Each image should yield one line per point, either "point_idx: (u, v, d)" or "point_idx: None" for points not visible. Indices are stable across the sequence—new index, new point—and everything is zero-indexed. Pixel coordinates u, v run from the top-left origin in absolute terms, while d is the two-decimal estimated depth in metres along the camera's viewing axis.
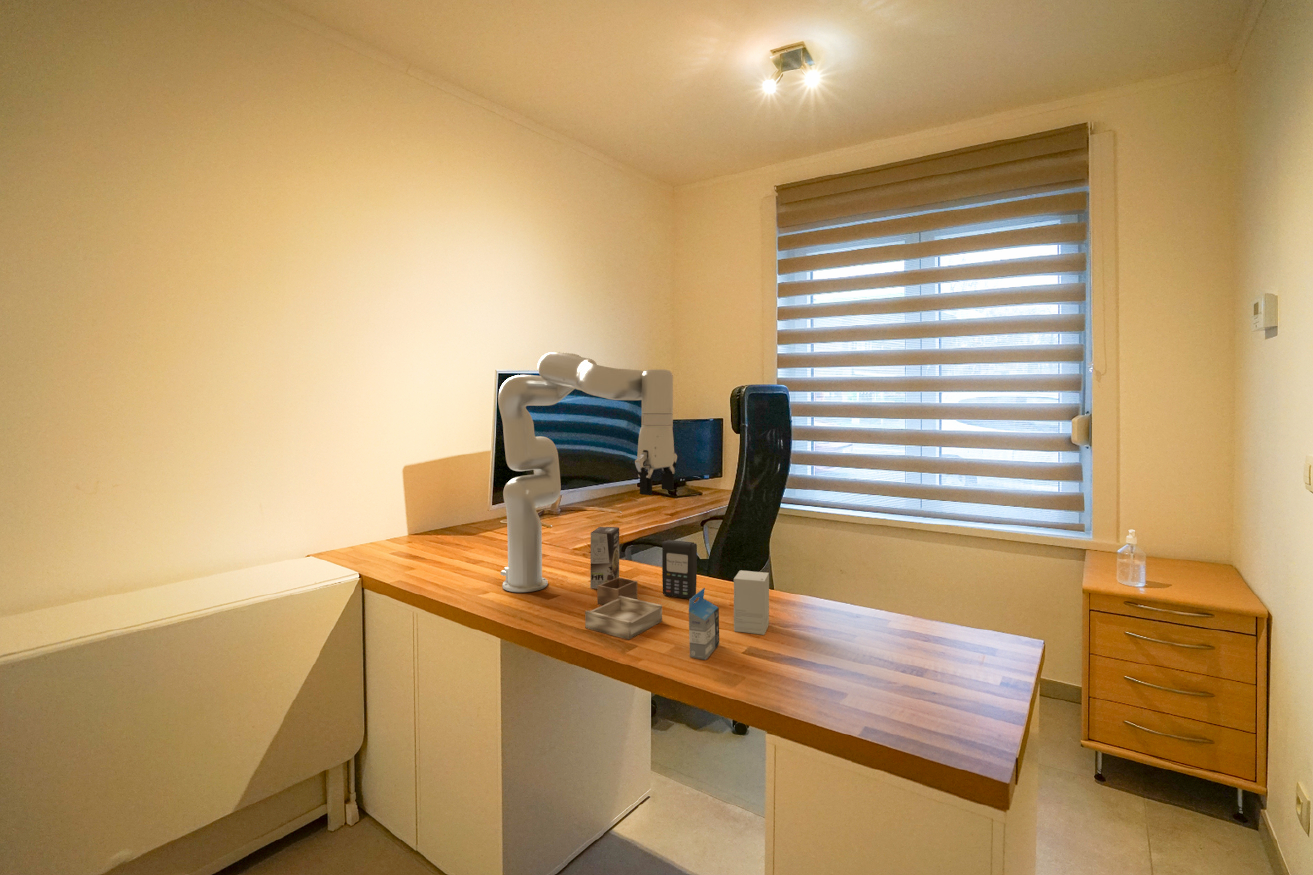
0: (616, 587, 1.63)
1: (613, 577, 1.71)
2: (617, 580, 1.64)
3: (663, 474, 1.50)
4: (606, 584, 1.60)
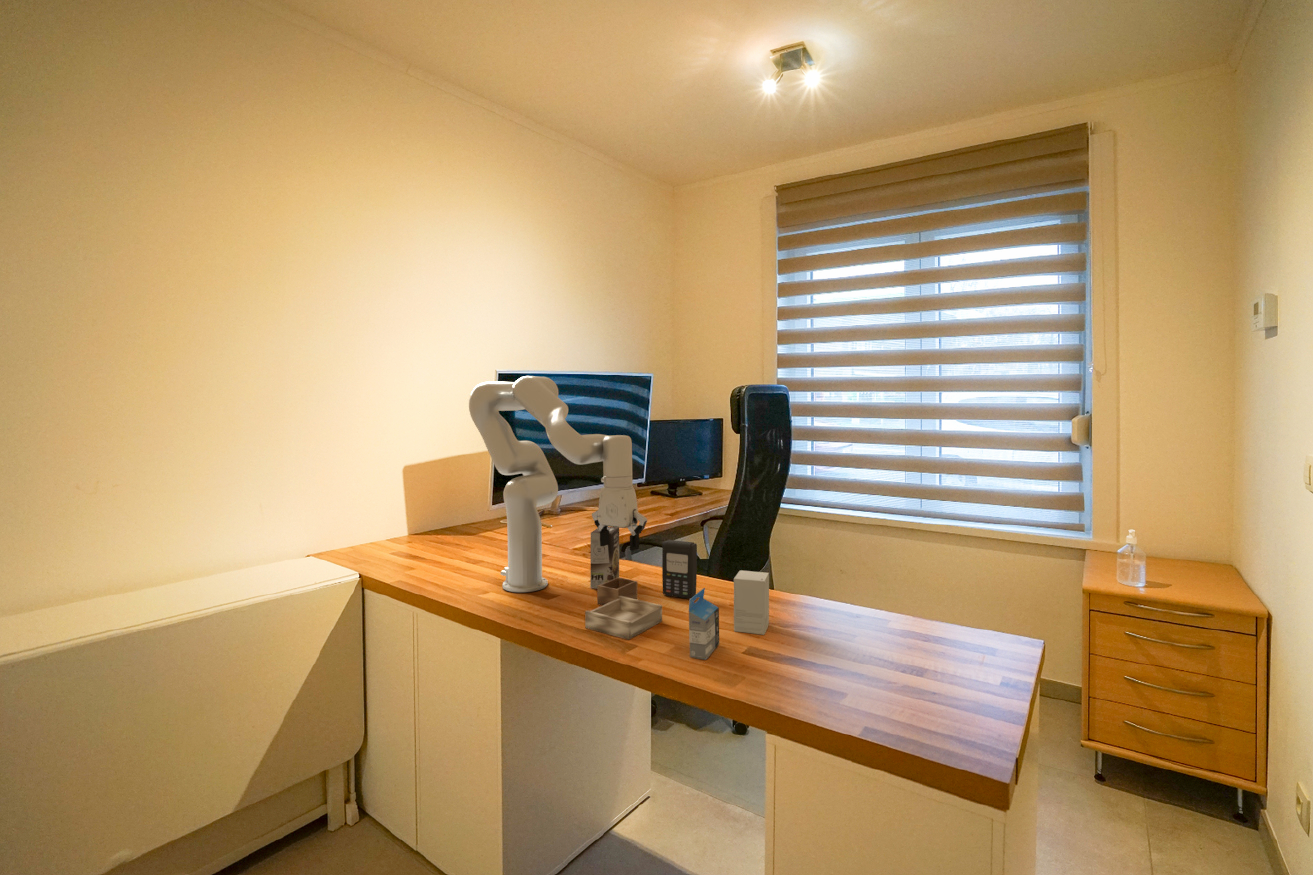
0: (616, 587, 1.63)
1: (613, 577, 1.71)
2: (617, 580, 1.64)
3: (603, 532, 1.60)
4: (606, 584, 1.60)
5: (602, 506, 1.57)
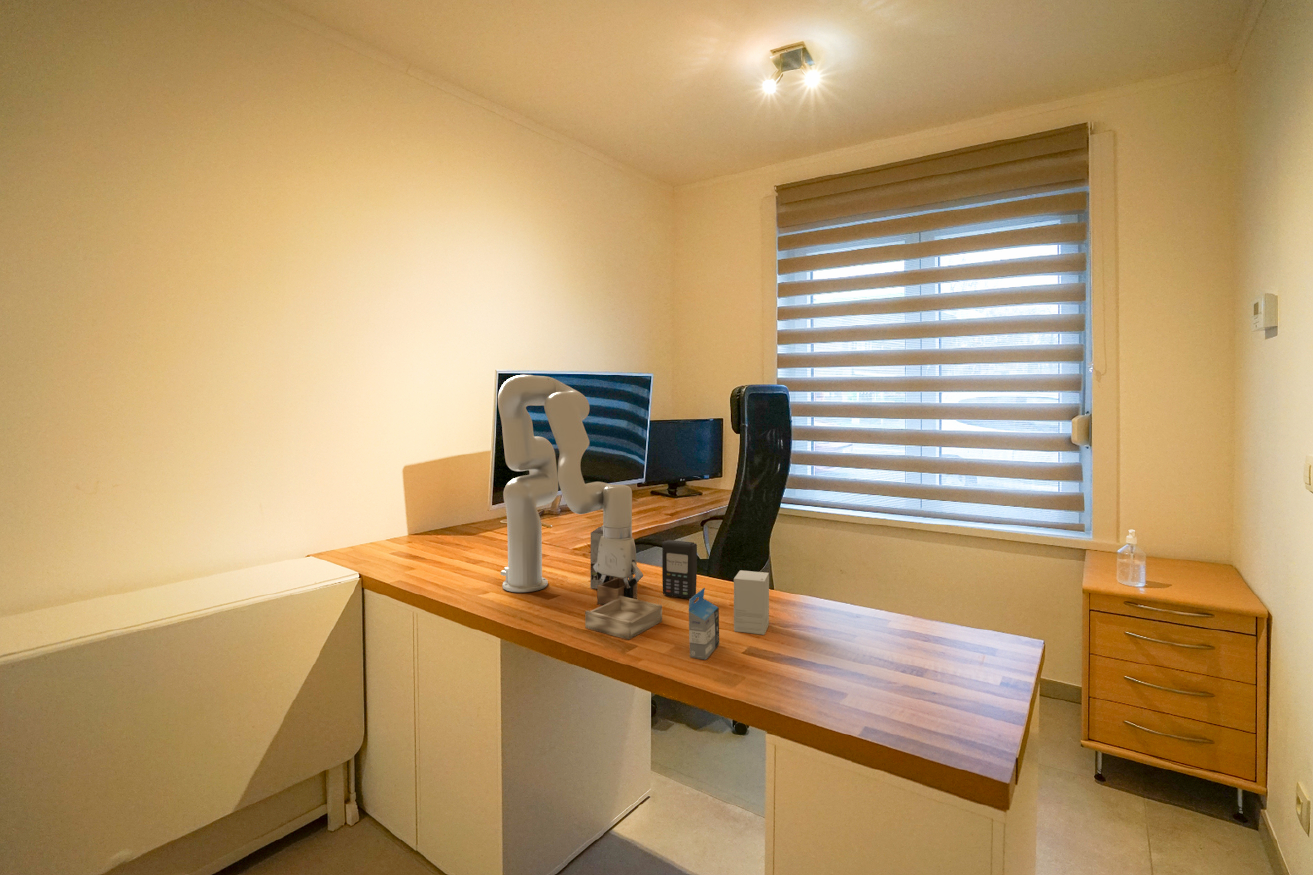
0: (616, 587, 1.63)
1: (613, 577, 1.71)
2: (617, 580, 1.64)
3: None
4: (606, 584, 1.60)
5: (601, 555, 1.58)
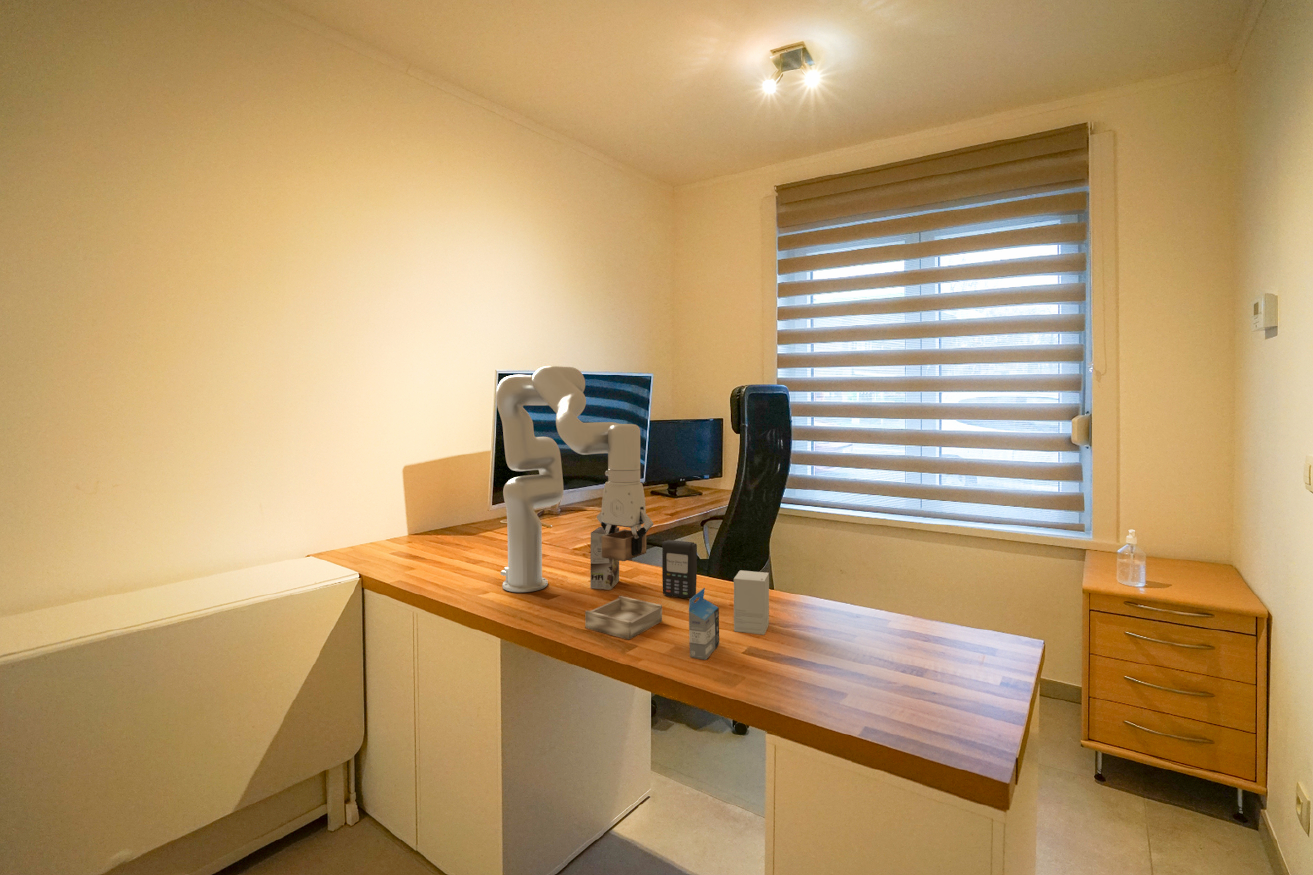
0: None
1: (613, 577, 1.71)
2: (624, 532, 1.47)
3: None
4: (611, 535, 1.43)
5: (606, 502, 1.41)
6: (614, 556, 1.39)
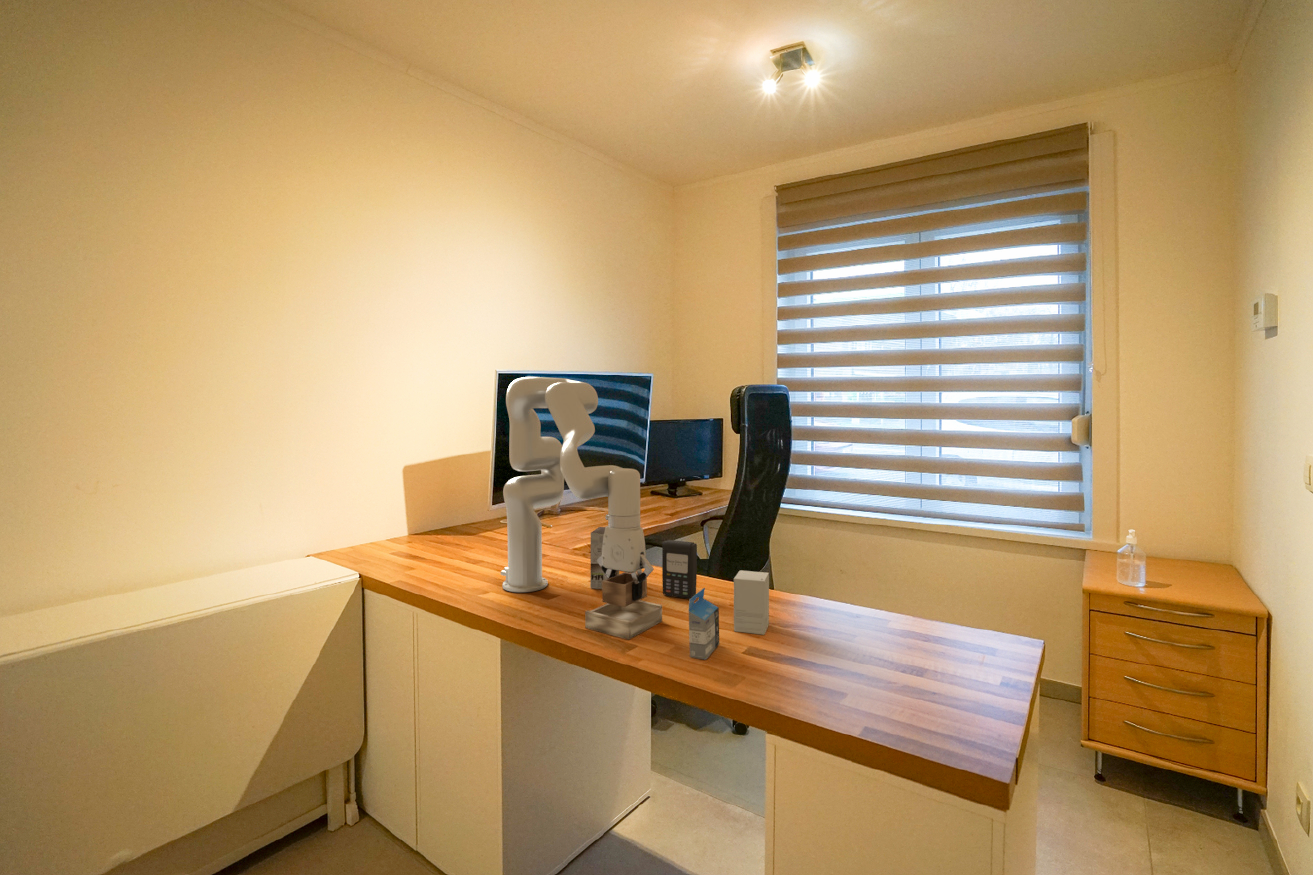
0: (623, 583, 1.47)
1: None
2: (624, 575, 1.47)
3: None
4: (612, 579, 1.43)
5: (606, 547, 1.42)
6: (615, 601, 1.39)
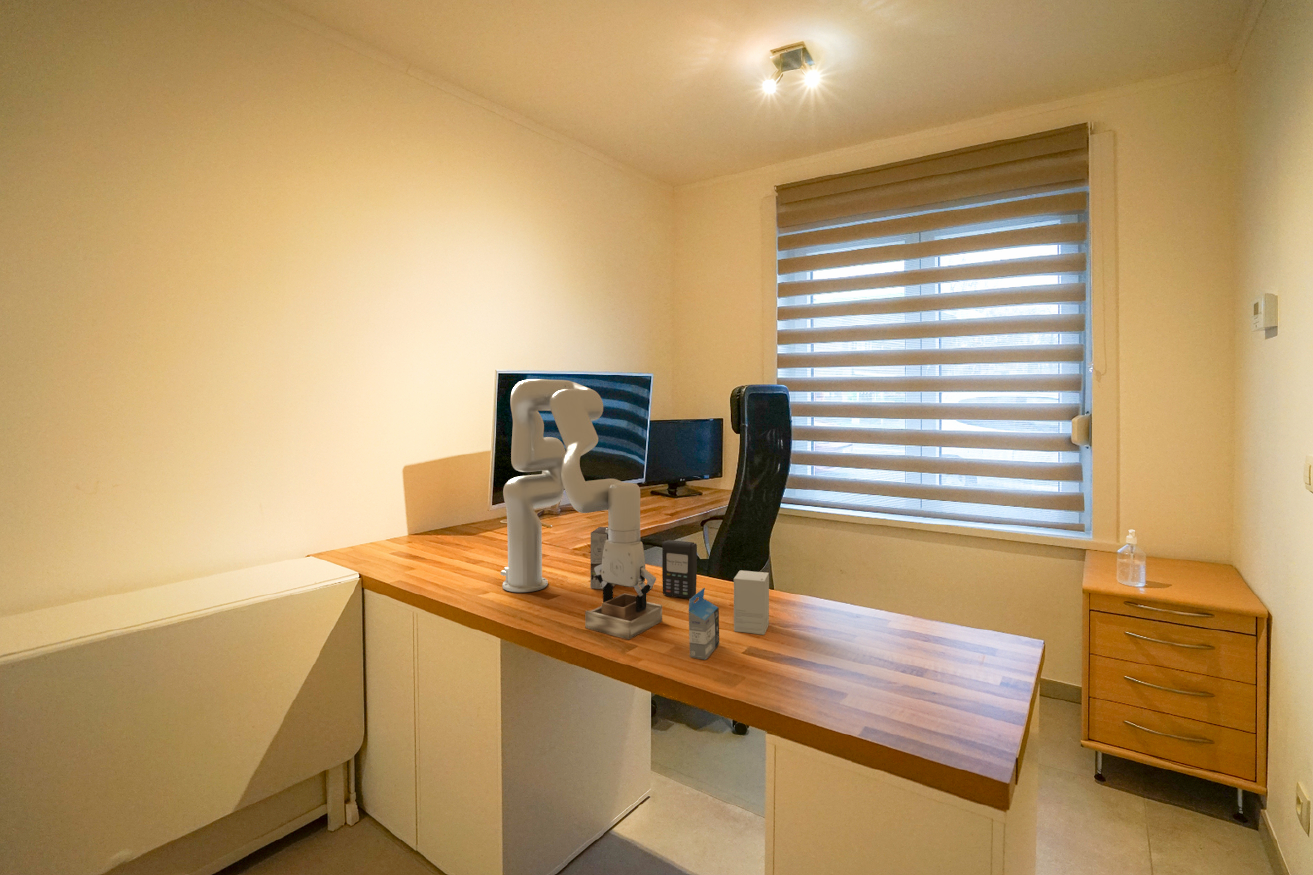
0: (622, 604, 1.47)
1: None
2: (623, 596, 1.48)
3: (606, 589, 1.45)
4: (611, 601, 1.44)
5: (606, 561, 1.42)
6: None
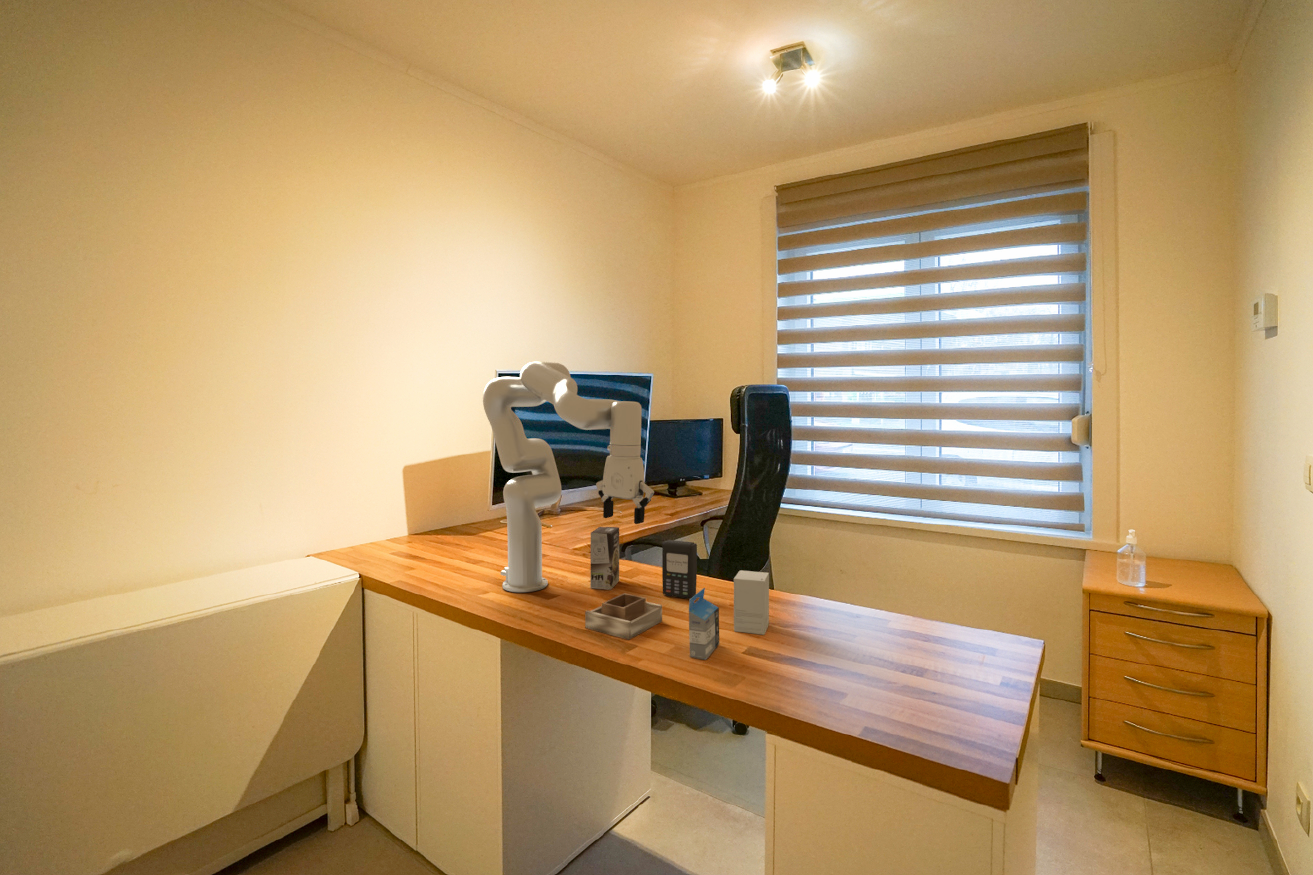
0: (622, 604, 1.47)
1: (613, 577, 1.71)
2: (623, 596, 1.48)
3: (607, 503, 1.51)
4: (611, 601, 1.44)
5: (607, 475, 1.48)
6: None
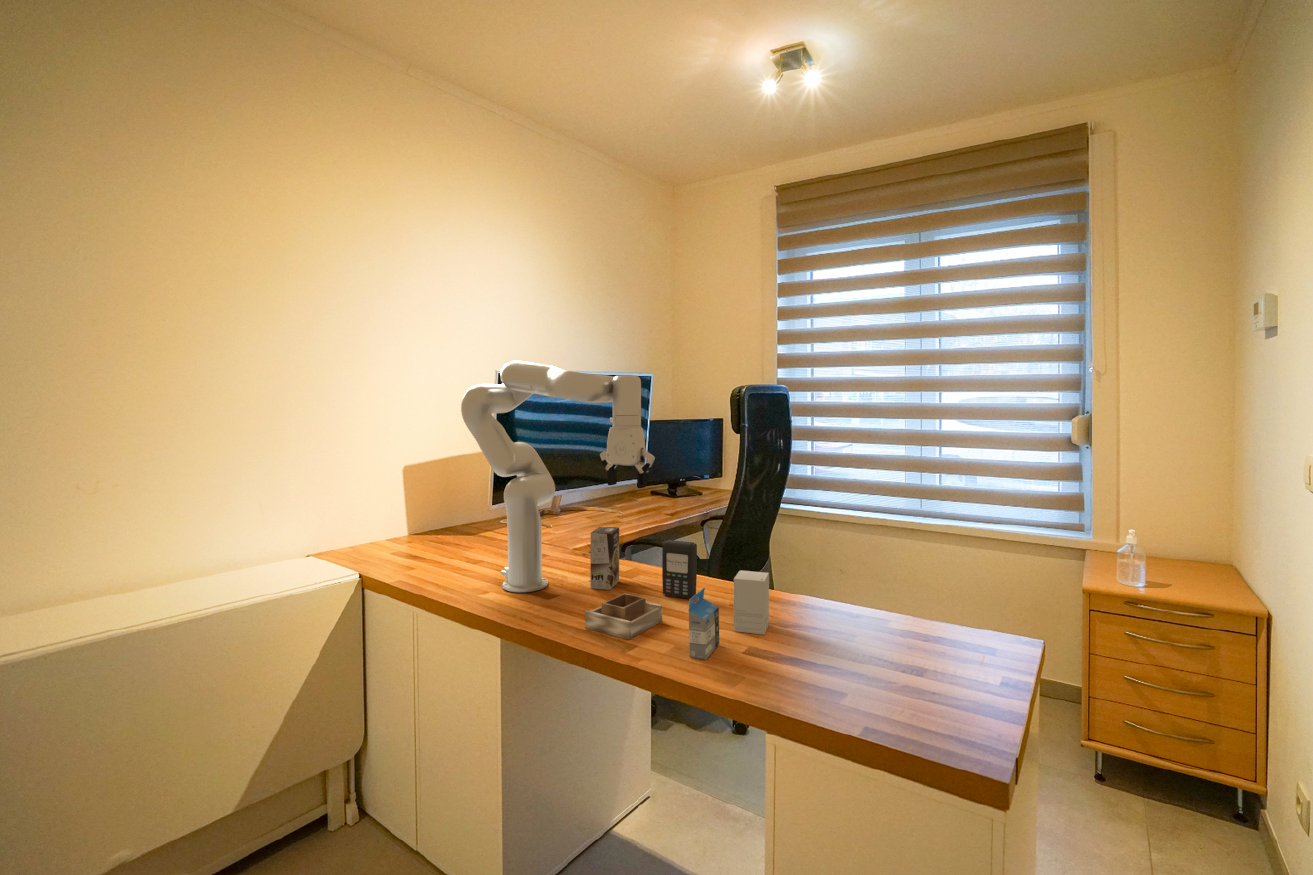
0: (622, 604, 1.47)
1: (613, 577, 1.71)
2: (623, 596, 1.48)
3: (610, 471, 1.62)
4: (611, 601, 1.44)
5: (610, 445, 1.60)
6: None
